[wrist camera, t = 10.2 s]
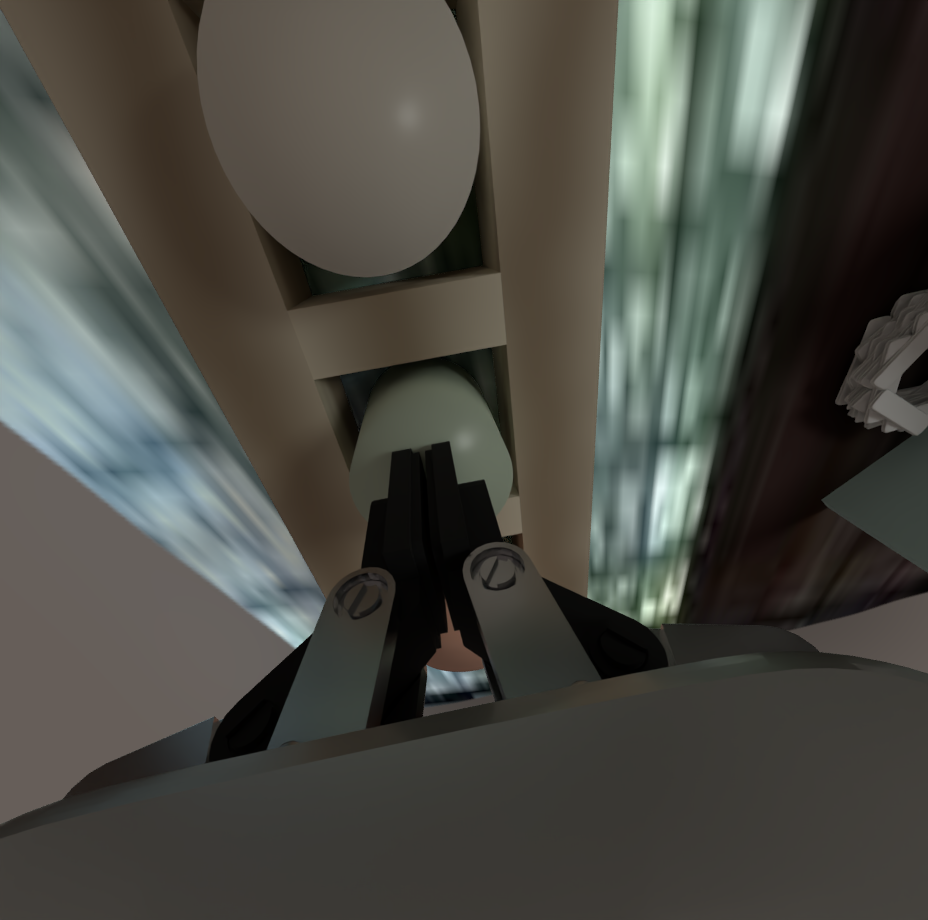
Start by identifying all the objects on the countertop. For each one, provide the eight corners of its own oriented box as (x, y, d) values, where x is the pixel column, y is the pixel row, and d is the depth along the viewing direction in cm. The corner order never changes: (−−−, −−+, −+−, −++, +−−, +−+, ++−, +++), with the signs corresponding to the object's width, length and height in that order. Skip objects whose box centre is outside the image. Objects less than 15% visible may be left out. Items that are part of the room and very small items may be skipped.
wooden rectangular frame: (568, -139, 9) (633, -297, 6) (565, 584, 22) (585, 629, 20) (50, -61, 8) (-109, -191, 6) (372, 623, 22) (367, 673, 20)
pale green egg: (477, 345, 14) (506, 394, 10) (490, 453, 16) (518, 528, 12) (351, 368, 14) (324, 428, 9) (385, 473, 16) (375, 557, 12)
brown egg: (497, 507, 18) (523, 590, 14) (505, 572, 21) (530, 658, 16) (401, 525, 18) (398, 615, 14) (422, 588, 21) (424, 680, 16)
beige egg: (438, 39, 10) (458, -114, 5) (464, 248, 12) (492, 256, 8) (255, 69, 9) (129, -65, 5) (321, 274, 12) (272, 295, 8)
